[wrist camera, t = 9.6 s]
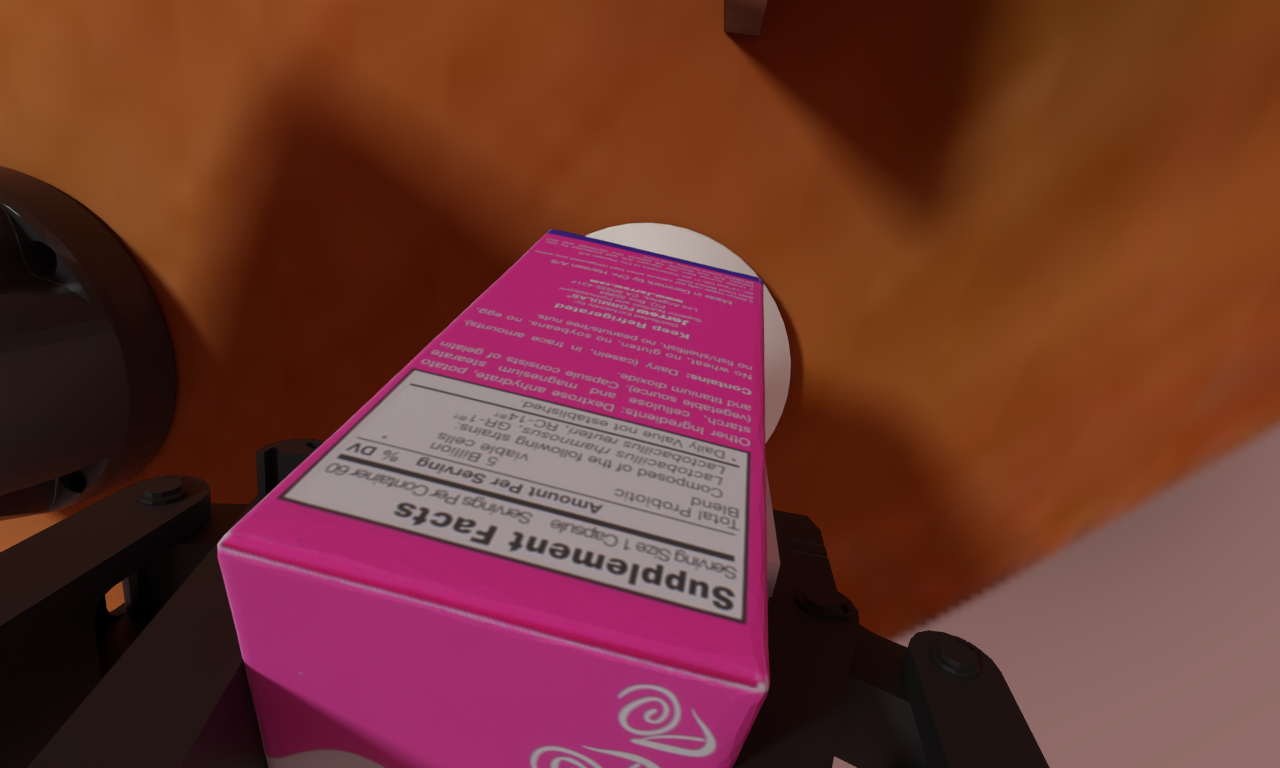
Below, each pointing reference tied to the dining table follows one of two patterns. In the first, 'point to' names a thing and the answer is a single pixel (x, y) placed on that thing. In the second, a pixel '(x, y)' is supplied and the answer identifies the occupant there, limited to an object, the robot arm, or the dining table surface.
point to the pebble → (718, 255)
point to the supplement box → (528, 535)
